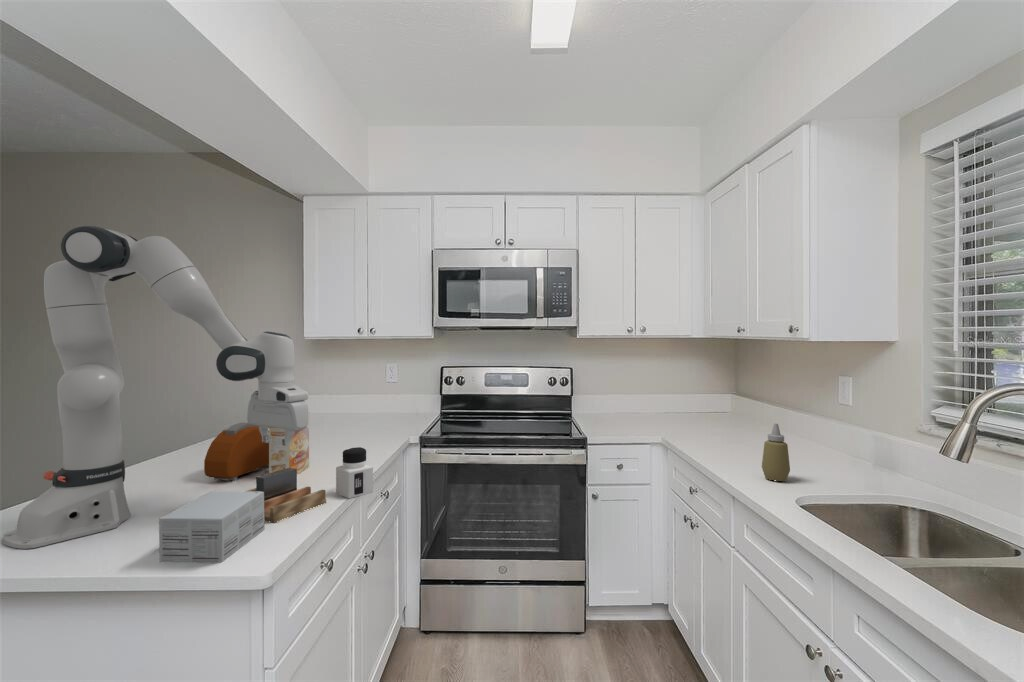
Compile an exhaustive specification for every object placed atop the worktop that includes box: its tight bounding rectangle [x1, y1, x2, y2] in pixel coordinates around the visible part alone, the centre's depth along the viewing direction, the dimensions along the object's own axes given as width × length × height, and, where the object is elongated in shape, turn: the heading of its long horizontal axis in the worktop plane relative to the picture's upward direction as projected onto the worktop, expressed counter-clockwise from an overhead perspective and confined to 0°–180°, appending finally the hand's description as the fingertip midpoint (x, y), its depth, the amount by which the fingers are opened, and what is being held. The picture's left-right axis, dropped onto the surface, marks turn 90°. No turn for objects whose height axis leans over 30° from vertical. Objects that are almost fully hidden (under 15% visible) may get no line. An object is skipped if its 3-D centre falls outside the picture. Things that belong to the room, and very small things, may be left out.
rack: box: [243, 486, 327, 524], centre depth 130 cm, size 16×19×4 cm
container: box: [335, 446, 374, 499], centre depth 141 cm, size 8×8×13 cm
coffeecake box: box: [268, 411, 310, 475], centre depth 161 cm, size 15×7×20 cm, turn 179°
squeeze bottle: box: [761, 423, 791, 482], centre depth 155 cm, size 8×8×18 cm
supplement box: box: [158, 490, 265, 564], centre depth 106 cm, size 17×13×9 cm
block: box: [255, 468, 298, 501], centre depth 130 cm, size 10×3×8 cm, turn 153°
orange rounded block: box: [203, 422, 269, 482], centre depth 162 cm, size 23×9×17 cm, turn 169°
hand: (276, 443), depth 130 cm, fingers open, 7 cm apart
